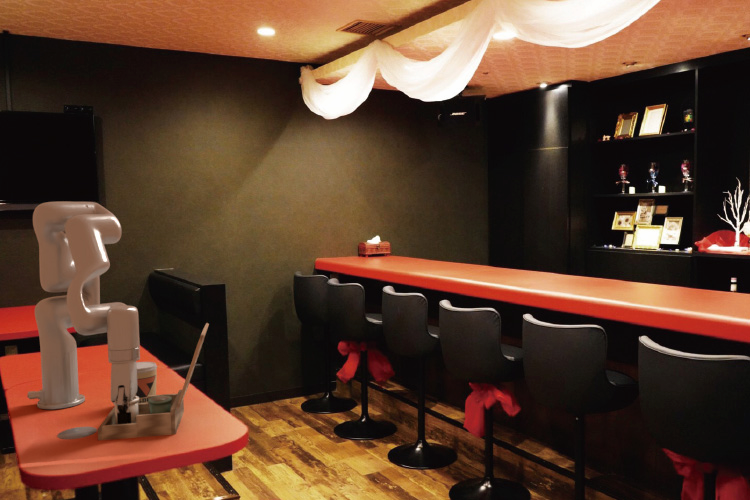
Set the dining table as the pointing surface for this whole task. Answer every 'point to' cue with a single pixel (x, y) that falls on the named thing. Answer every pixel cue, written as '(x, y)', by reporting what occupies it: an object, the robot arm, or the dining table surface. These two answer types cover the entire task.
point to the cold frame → (144, 422)
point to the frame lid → (192, 365)
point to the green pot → (160, 404)
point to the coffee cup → (146, 380)
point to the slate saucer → (77, 433)
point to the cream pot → (132, 409)
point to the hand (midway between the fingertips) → (127, 423)
